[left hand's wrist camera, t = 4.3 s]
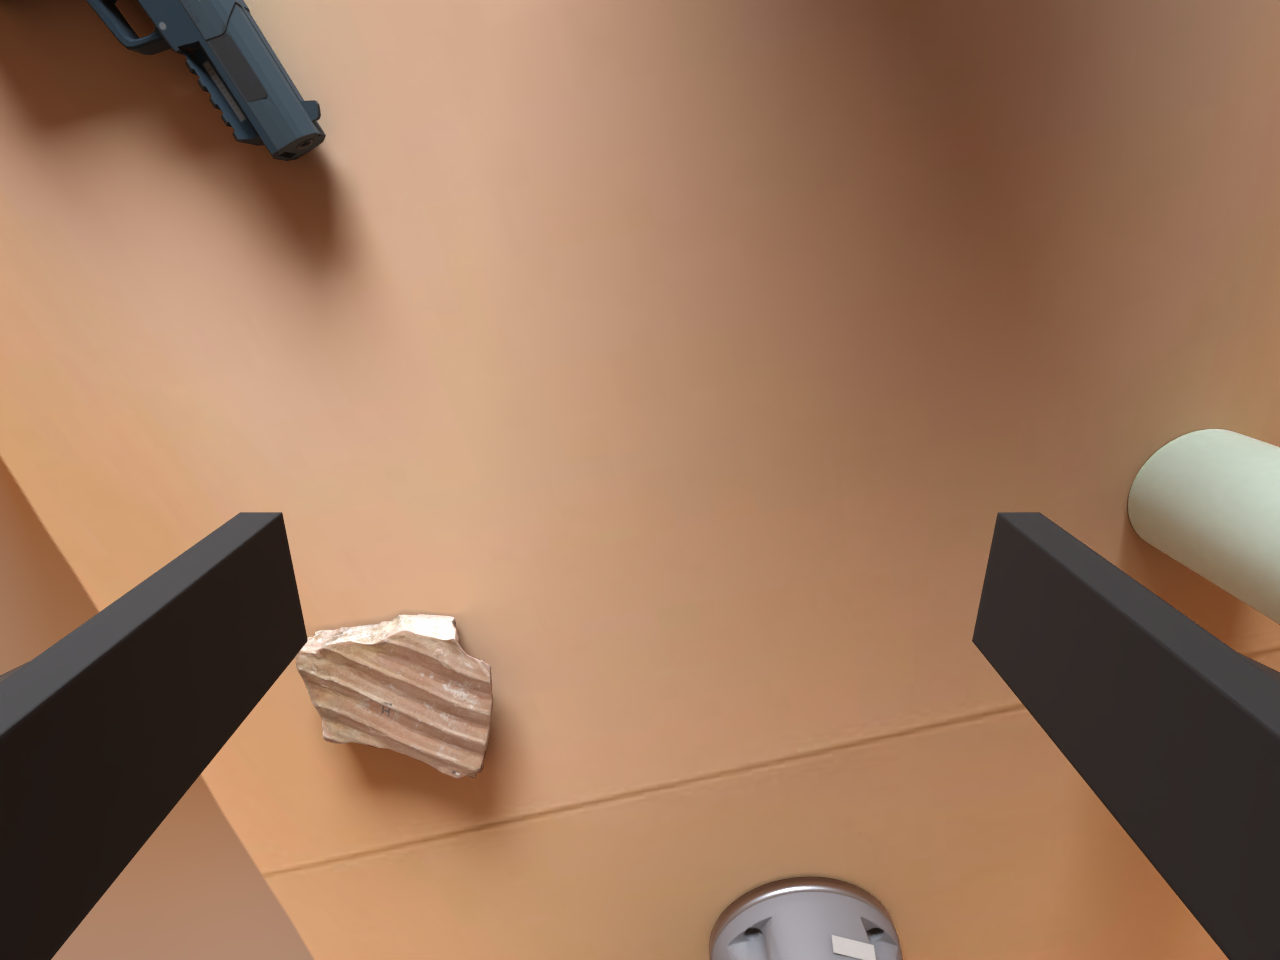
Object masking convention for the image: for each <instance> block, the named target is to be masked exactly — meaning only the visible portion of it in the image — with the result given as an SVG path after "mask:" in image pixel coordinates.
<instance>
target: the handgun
mask: <svg viewBox="0 0 1280 960" xmlns="http://www.w3.org/2000/svg"><path fill="white" fill-rule="evenodd" d="M86 1H87V2H88V3H89V5H90V6H91V7H92V8H93V10H94V11H95V12H96V13H97V15H98V16H99V17H100V18H101V20H102V21H103V22H104V23H105V24H106V26H107V27H108V28H109V29H110V31H111V32H112V33H113V34H114V36H115V37H116V38H117V39H118V41H119V42H120V43H121V44H122V45H124V46H125V47H126V48H127V49H129V50H132V51H135V52H138V53H141V54H145V55H153V54H156V53H159V52H162V51H165V50H167V49H170V48H172V49H173V50H174V51H175V52H178V53H181V54H183V55H185V56H186V58H187V59H188V60H186V66H187V67H188V69H189V70H190V72H191V73H193V74H196V75H198V76H199V77H200V79H198V84H199V85H200V87H201V88H202V90H203V91H206V92H210V94H211V95H212V96H210V102H211V103H212V105H213V106H214V108H217V109H220V110H221V111H222V112H223V114H222V115H221V118H222V120H223V121H224V123H225V124H226V126H230V127H233V129H234V130H235V132H233V136H234V138H235V139H236V141H238V142H243V143H248V144H253V145H265V146H266V147H267V149H268V150H269V152H270V153H271V155H272V156H273V158H274V159H280V160H286V161H288V160H294V159H298V158H299V157H301V156H303V155H304V154H306V153H307V152H309V151H310V150H312V149H314V148H315V147H316V146H318V145H319V144H321V143H322V142H323V141H324V138H325V136H326V135H325V134H324V132H323V130H322V129H321V127H320V126H319V124H318V122H317V120H319V119H320V116H321V114H320V107H319V104H318V102H317V101H304V100H303V98H302V96H301V95H300V93H299V92H298V90H297V88H296V87H295V85H294V84H293V82H292V80H291V79H290V77H289V75H288V74H287V72H286V71H285V69H284V67H283V66H282V64H281V63H280V61H279V59H278V58H277V56H276V55H275V53H274V51H273V50H272V48H271V46H270V45H269V43H268V42H267V40H266V38H265V37H264V35H263V34H262V32H261V30H260V29H259V27H258V25H257V24H256V22H255V21H254V19H253V17H252V16H251V14H250V11H249V9H248V7H247V5H246V4H245V2H244V1H243V0H138V2H139V3H140V5H141V6H142V7H143V9H144V10H145V12H146V13H147V14H148V16H149V17H150V19H151V20H152V21H153V23H154V24H155V31H154V32H153V33H152V34H150V35H149V36H146V37H143V38H139V37H138V36H137V34H136V33H135V32H134V31H133V29H132V28H131V27H130V25H129V24H128V22H127V21H126V20H125V18H124V17H123V15H122V14H121V13H120V11H119V10H118V8H117V7H116V6H115V4H114V3H116V0H86ZM113 2H114V3H113Z"/></svg>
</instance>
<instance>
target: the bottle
mask: <svg viewBox="0 0 1280 960" xmlns="http://www.w3.org/2000/svg"><path fill="white" fill-rule="evenodd" d="M1128 514H1129V519H1130V522H1131V524H1132V527H1133V528H1134V530H1135V531H1136V533H1137V534H1138V535H1139V536H1140V537H1141V538H1142V539H1143V540H1144V541H1145V542H1147V543H1148V544H1150V545H1152V546H1153V547H1155V548H1156V549H1158V550H1160V551H1161V552H1163V553H1165V554H1166V555H1168V556H1169V557H1171V558H1173V559H1174V560H1176V561H1178V562H1179V563H1181V564H1182V565H1184V566H1186V567H1187V568H1189V569H1190V570H1192V571H1194V572H1195V573H1197V574H1199V575H1200V576H1202V577H1203V578H1205V579H1207V580H1208V581H1210V582H1211V583H1213V584H1215V585H1216V586H1218V587H1220V588H1221V589H1223V590H1224V591H1226V592H1228V593H1229V594H1231V595H1233V596H1234V597H1236V598H1237V599H1239V600H1241V601H1242V602H1244V603H1245V604H1247V605H1249V606H1250V607H1252V608H1254V609H1255V610H1257V611H1258V612H1260V613H1262V614H1263V615H1265V616H1266V617H1268V618H1270V619H1271V620H1273V621H1275V622H1276V623H1278V624H1279V625H1280V447H1277V446H1274V445H1271V444H1268V443H1265V442H1263V441H1260V440H1257V439H1254V438H1251V437H1248V436H1245V435H1242V434H1239V433H1236V432H1233V431H1229V430H1224V429H1205V430H1199V431H1195V432H1191V433H1188V434H1185V435H1183V436H1180V437H1178V438H1176V439H1174V440H1172V441H1171V442H1169V443H1167V444H1166V445H1164V446H1163V447H1162V448H1160V449H1159V450H1158V451H1157V452H1155V453H1154V454H1153V455H1152V456H1151V457H1150V458H1149V459H1148V460H1147V461H1146V463H1145V464H1144V465H1143V466H1142V468H1141V469H1140V471H1139V472H1138V474H1137V476H1136V478H1135V479H1134V481H1133V484H1132V487H1131V489H1130V493H1129V497H1128Z"/></svg>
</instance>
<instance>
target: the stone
mask: <svg viewBox="0 0 1280 960" xmlns="http://www.w3.org/2000/svg"><path fill="white" fill-rule="evenodd" d="M315 633H316V635H315V636H313V637H309V638H308V639H307V640H308V641H307V643H306V644H305V645H304V646H303V648H302V649H301V650H300V651H299V653H298V654H297V655H296V656H295V659H296V666H297V669H298V672H299V674H300V675H301V677H302V678H303V680H304V683H305V686H306V688H307V691H308V693H309V695H310V698H311V701H312V703H313V705H314V706H315V708H316V709H317V711H318V713H319V714H320V716H321V718H322V728H323V738H324V740H325V741H328V742H332V743H360V744H365V745H370V746H373V747H377V748H386V749H390V750H393V751H396V752H399V753H401V754H404V755H406V756H409V757H412V758H414V759H417V760H419V761H422V762H424V763H426V764H428V765H430V766H432V767H434V768H436V769H437V770H439V771H440V772H442V773H445V774H448V775H450V776H453V777H455V778H458V779H459V778H462V777H464V776H469V777H473V778H476V776H477V773H478V772H481V771H482V769H483V767H484V760H483V759H484V756H485V753H486V747H487V745H488V739H489V735H490V725H489V723H490V719H491V713H492V708H493V696H492V680H491V667H490V665H489V664H487V663H486V662H484V661H483V660H479V659H476V658H473V657H471V656H469V655H468V654H467V653H466V652H464V651H463V649H462V647H461V646H460V644H459V636H458V632H457V630H456V628H455V618H454V617H451V616H441V615H424V614H418V615H398V616H397V617H396V618H395V619H394V620H392V621H385V622H381V623H379V624H374V625H365V626H356V627H348V628H345V627H341V628H339V629H335V630H320V631H317V632H315Z"/></svg>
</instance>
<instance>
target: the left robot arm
mask: <svg viewBox="0 0 1280 960" xmlns="http://www.w3.org/2000/svg"><path fill="white" fill-rule="evenodd" d="M307 641H308V640H307V635H306V630H305V625H304V620H303V615H302V610H301V605H300V600H299V595H298V590H297V585H296V580H295V575H294V570H293V565H292V560H291V555H290V550H289V545H288V540H287V535H286V530H285V525H284V520H283V515H282V513H239V514H238V515H236V516H235V517H233V518H232V519H231V520H229V521H228V522H226V523H225V524H223V525H222V526H221V527H219V528H218V529H216V530H215V531H214V532H212V533H211V534H209V535H208V536H207V537H205V538H204V539H202V540H201V541H200V542H198V543H197V544H195V545H194V546H192V547H191V548H190V549H188V550H187V551H185V552H184V553H183V554H181V555H180V556H178V557H177V558H176V559H174V560H173V561H171V562H170V563H168V564H167V565H166V566H164V567H163V568H161V569H160V570H159V571H157V572H156V573H154V574H153V575H152V576H150V577H149V578H147V579H146V580H144V581H143V582H142V583H140V584H139V585H137V586H136V587H135V588H133V589H132V590H130V591H129V592H128V593H126V594H125V595H123V596H122V597H121V598H119V599H118V600H116V601H115V602H113V603H112V604H111V605H109V606H108V607H106V608H105V609H104V610H102V611H101V612H99V613H98V614H97V615H95V616H94V617H92V618H91V619H89V620H88V621H87V622H85V623H84V624H82V625H81V626H80V627H78V628H77V629H75V630H74V631H73V632H71V633H70V634H68V635H67V636H65V637H64V638H63V639H61V640H60V641H58V642H57V643H56V644H54V645H53V646H51V647H50V648H49V649H47V650H46V651H44V652H43V653H42V654H40V655H39V656H37V657H36V658H34V659H33V660H32V661H30V662H28V663H26V664H23V665H21V666H19V667H17V668H15V669H13V670H11V671H9V672H7V673H5V674H3V675H1V676H0V960H51V959H52V958H53V956H54V955H55V954H56V952H57V951H58V950H59V949H60V948H61V946H62V945H63V944H64V943H65V941H66V940H67V939H68V938H69V936H70V935H71V934H72V933H73V931H74V930H75V929H76V928H77V927H78V925H79V924H80V923H81V922H82V920H83V919H84V918H85V917H86V915H87V914H88V913H89V912H90V910H91V909H92V908H93V907H94V905H95V904H96V903H97V902H98V901H99V899H100V898H101V897H102V896H103V894H104V893H105V892H106V891H107V889H108V888H109V887H110V886H111V884H112V883H113V882H114V881H115V879H116V878H117V877H118V876H119V874H120V873H121V872H122V871H123V870H124V868H125V867H126V866H127V865H128V863H129V862H130V861H131V860H132V858H133V857H134V856H135V855H136V853H137V852H138V851H139V850H140V848H141V847H142V846H143V845H144V843H145V842H146V841H147V840H148V839H149V837H150V836H151V835H152V834H153V832H154V831H155V830H156V829H157V827H158V826H159V825H160V824H161V822H162V821H163V820H164V819H165V817H166V816H167V815H168V814H169V813H170V811H171V810H172V809H173V808H174V806H175V805H176V804H177V803H178V801H179V800H180V799H181V798H182V796H183V795H184V794H185V793H186V791H187V790H188V789H189V788H190V786H191V785H192V784H193V783H194V781H195V780H196V779H197V778H198V777H199V775H200V774H201V773H202V772H203V770H204V769H205V768H206V767H207V765H208V764H209V763H210V762H211V760H212V759H213V758H214V757H215V755H216V754H217V753H218V752H219V751H220V749H221V748H222V747H223V746H224V744H225V743H226V742H227V741H228V739H229V738H230V737H231V736H232V734H233V733H234V732H235V731H236V729H237V728H238V727H239V726H240V724H241V723H242V722H243V721H244V720H245V718H246V717H247V716H248V715H249V713H250V712H251V711H252V710H253V708H254V707H255V706H256V705H257V703H258V702H259V701H260V700H261V698H262V697H263V696H264V695H265V693H266V692H267V691H268V690H269V689H270V687H271V686H272V685H273V684H274V682H275V681H276V680H277V679H278V677H279V676H280V675H281V674H282V672H283V671H284V670H285V669H286V667H287V666H288V665H289V664H290V663H291V661H292V660H293V659H294V658H295V656H296V655H297V654H298V653H299V651H300V650H301V649H302V648H303V646H304V645H305V644H306V643H307ZM972 641H973V643H974V644H975V645H976V646H977V648H978V649H979V650H980V651H981V653H982V654H983V655H984V656H985V658H986V659H987V660H988V661H989V663H990V664H991V665H992V666H993V667H994V669H995V670H996V671H997V672H998V674H999V675H1000V676H1001V677H1002V679H1003V680H1004V681H1005V682H1006V684H1007V685H1008V686H1009V687H1010V689H1011V690H1012V691H1013V692H1014V693H1015V695H1016V696H1017V697H1018V698H1019V700H1020V701H1021V702H1022V703H1023V705H1024V706H1025V707H1026V708H1027V710H1028V711H1029V712H1030V713H1031V715H1032V716H1033V717H1034V718H1035V720H1036V721H1037V722H1038V723H1039V724H1040V726H1041V727H1042V728H1043V729H1044V731H1045V732H1046V733H1047V734H1048V736H1049V737H1050V738H1051V739H1052V741H1053V742H1054V743H1055V744H1056V746H1057V747H1058V748H1059V749H1060V751H1061V752H1062V753H1063V754H1064V755H1065V757H1066V758H1067V759H1068V760H1069V762H1070V763H1071V764H1072V765H1073V767H1074V768H1075V769H1076V770H1077V772H1078V773H1079V774H1080V775H1081V777H1082V778H1083V779H1084V780H1085V782H1086V783H1087V784H1088V785H1089V786H1090V788H1091V789H1092V790H1093V791H1094V793H1095V794H1096V795H1097V796H1098V798H1099V799H1100V800H1101V801H1102V803H1103V804H1104V805H1105V806H1106V808H1107V809H1108V810H1109V811H1110V813H1111V814H1112V815H1113V816H1114V817H1115V819H1116V820H1117V821H1118V822H1119V824H1120V825H1121V826H1122V827H1123V829H1124V830H1125V831H1126V832H1127V834H1128V835H1129V836H1130V837H1131V839H1132V840H1133V841H1134V842H1135V843H1136V845H1137V846H1138V847H1139V848H1140V850H1141V851H1142V852H1143V853H1144V855H1145V856H1146V857H1147V858H1148V860H1149V861H1150V862H1151V863H1152V865H1153V866H1154V867H1155V868H1156V870H1157V871H1158V872H1159V873H1160V874H1161V876H1162V877H1163V878H1164V879H1165V881H1166V882H1167V883H1168V884H1169V886H1170V887H1171V888H1172V889H1173V891H1174V892H1175V893H1176V894H1177V896H1178V897H1179V898H1180V899H1181V901H1182V902H1183V903H1184V904H1185V905H1186V907H1187V908H1188V909H1189V910H1190V912H1191V913H1192V914H1193V915H1194V917H1195V918H1196V919H1197V920H1198V922H1199V923H1200V924H1201V925H1202V927H1203V928H1204V929H1205V930H1206V932H1207V933H1208V934H1209V935H1210V936H1211V938H1212V939H1213V940H1214V941H1215V943H1216V944H1217V945H1218V946H1219V948H1220V949H1221V950H1222V951H1223V953H1224V954H1225V955H1226V956H1227V958H1228V959H1229V960H1280V672H1277V671H1275V670H1273V669H1271V668H1269V667H1267V666H1265V665H1263V664H1261V663H1259V662H1257V661H1254V660H1252V659H1250V658H1248V657H1246V656H1244V655H1242V654H1240V653H1237V652H1236V651H1234V650H1233V649H1231V648H1230V647H1229V646H1227V645H1226V644H1224V643H1223V642H1222V641H1220V640H1219V639H1217V638H1216V637H1215V636H1213V635H1212V634H1210V633H1209V632H1207V631H1206V630H1205V629H1203V628H1202V627H1200V626H1199V625H1198V624H1196V623H1195V622H1193V621H1192V620H1191V619H1189V618H1188V617H1186V616H1185V615H1183V614H1182V613H1181V612H1179V611H1178V610H1176V609H1175V608H1174V607H1172V606H1171V605H1169V604H1168V603H1167V602H1165V601H1164V600H1162V599H1161V598H1159V597H1158V596H1157V595H1155V594H1154V593H1152V592H1151V591H1150V590H1148V589H1147V588H1145V587H1144V586H1143V585H1141V584H1140V583H1138V582H1137V581H1136V580H1134V579H1133V578H1131V577H1130V576H1128V575H1127V574H1126V573H1124V572H1123V571H1121V570H1120V569H1119V568H1117V567H1116V566H1114V565H1113V564H1112V563H1110V562H1109V561H1107V560H1106V559H1104V558H1103V557H1102V556H1100V555H1099V554H1097V553H1096V552H1095V551H1093V550H1092V549H1090V548H1089V547H1088V546H1086V545H1085V544H1083V543H1082V542H1080V541H1079V540H1078V539H1076V538H1075V537H1073V536H1072V535H1071V534H1069V533H1068V532H1066V531H1065V530H1064V529H1062V528H1061V527H1059V526H1058V525H1057V524H1055V523H1054V522H1052V521H1051V520H1049V519H1048V518H1047V517H1045V516H1044V515H1042V514H1041V513H998V514H997V520H996V525H995V530H994V535H993V540H992V545H991V550H990V555H989V560H988V565H987V570H986V575H985V580H984V585H983V590H982V595H981V600H980V605H979V610H978V615H977V620H976V625H975V630H974V635H973V640H972ZM709 952H710V960H903V959H902V953H901V948H900V944H899V939H898V936H897V933H896V930H895V927H894V925H893V922H892V919H891V917H890V915H889V913H888V912H887V910H886V909H885V907H884V906H883V905H882V904H881V903H880V902H879V901H878V900H877V899H876V898H875V897H874V896H872V895H871V894H870V893H868V892H866V891H865V890H863V889H861V888H859V887H857V886H855V885H852V884H850V883H847V882H843V881H840V880H835V879H830V878H822V877H797V878H789V879H783V880H779V881H775V882H771V883H768V884H765V885H763V886H760V887H758V888H755V889H753V890H751V891H750V892H748V893H746V894H744V895H743V896H741V897H740V898H738V899H737V900H736V901H734V902H733V903H732V904H731V905H730V906H729V907H727V908H726V910H725V911H724V912H723V913H722V914H721V916H720V917H719V918H718V920H717V922H716V923H715V925H714V927H713V930H712V933H711V936H710V942H709Z"/></svg>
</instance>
